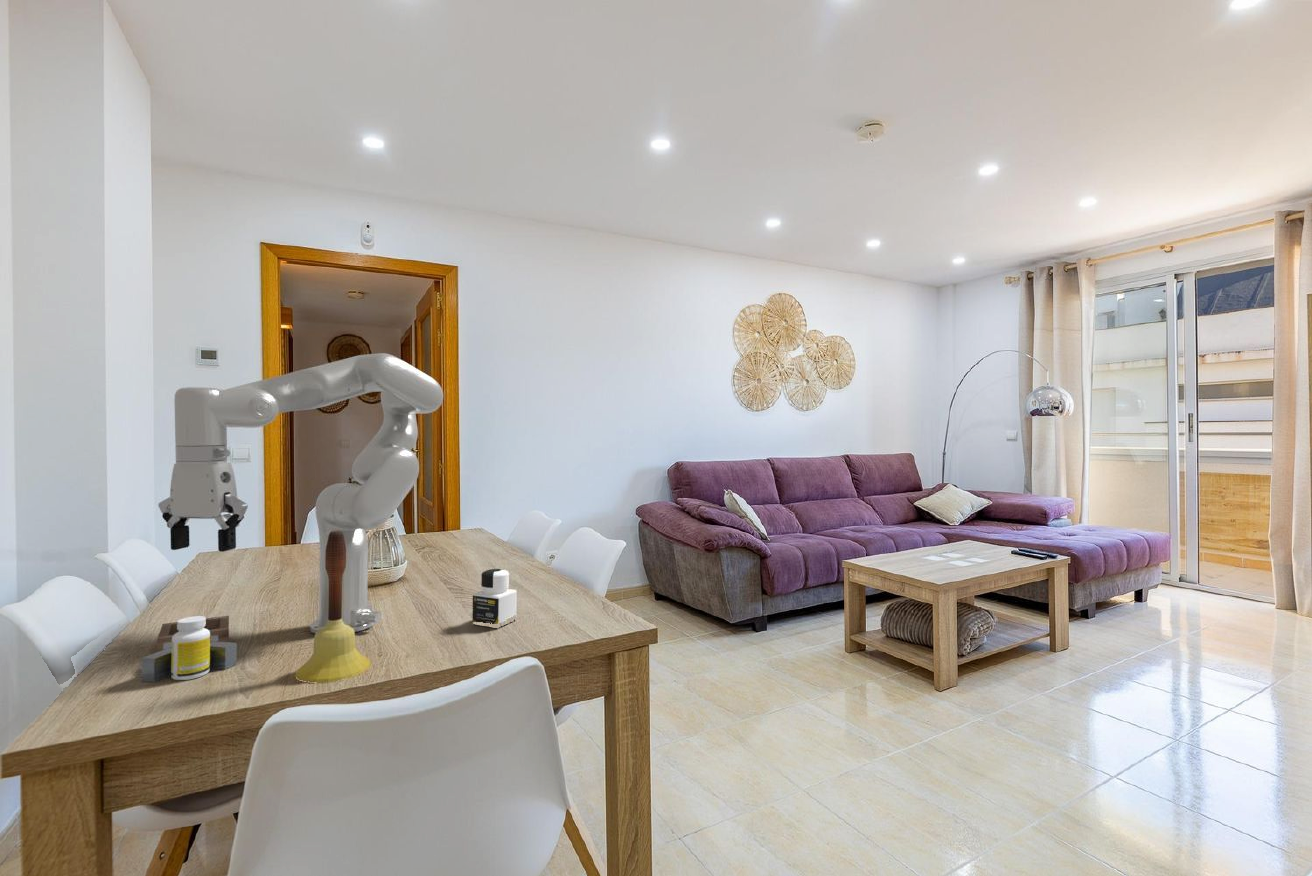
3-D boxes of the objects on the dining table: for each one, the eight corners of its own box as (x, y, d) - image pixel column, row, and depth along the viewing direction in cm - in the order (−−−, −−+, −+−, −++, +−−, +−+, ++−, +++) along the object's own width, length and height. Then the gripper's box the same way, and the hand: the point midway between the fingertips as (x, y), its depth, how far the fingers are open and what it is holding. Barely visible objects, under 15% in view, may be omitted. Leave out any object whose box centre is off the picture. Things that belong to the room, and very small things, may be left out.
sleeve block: (228, 631, 130) (228, 615, 130) (228, 646, 121) (228, 629, 121) (162, 641, 123) (162, 623, 123) (157, 657, 114) (157, 639, 114)
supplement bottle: (217, 671, 108) (218, 616, 108) (185, 683, 103) (185, 625, 103) (196, 667, 110) (196, 613, 110) (163, 678, 105) (163, 621, 105)
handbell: (383, 657, 116) (385, 527, 116) (352, 684, 104) (354, 537, 104) (318, 657, 116) (319, 526, 116) (279, 683, 104) (281, 536, 104)
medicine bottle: (471, 625, 137) (472, 572, 137) (491, 617, 143) (492, 566, 143) (497, 629, 134) (498, 575, 134) (516, 620, 141) (517, 568, 141)
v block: (144, 668, 109) (144, 645, 109) (234, 653, 117) (234, 632, 117) (140, 684, 102) (141, 660, 102) (236, 667, 110) (237, 645, 110)
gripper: (260, 454, 113) (262, 546, 113) (179, 454, 115) (180, 544, 116) (226, 457, 106) (228, 555, 106) (140, 456, 108) (142, 552, 108)
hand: (203, 549), depth 111 cm, fingers open, 9 cm apart
